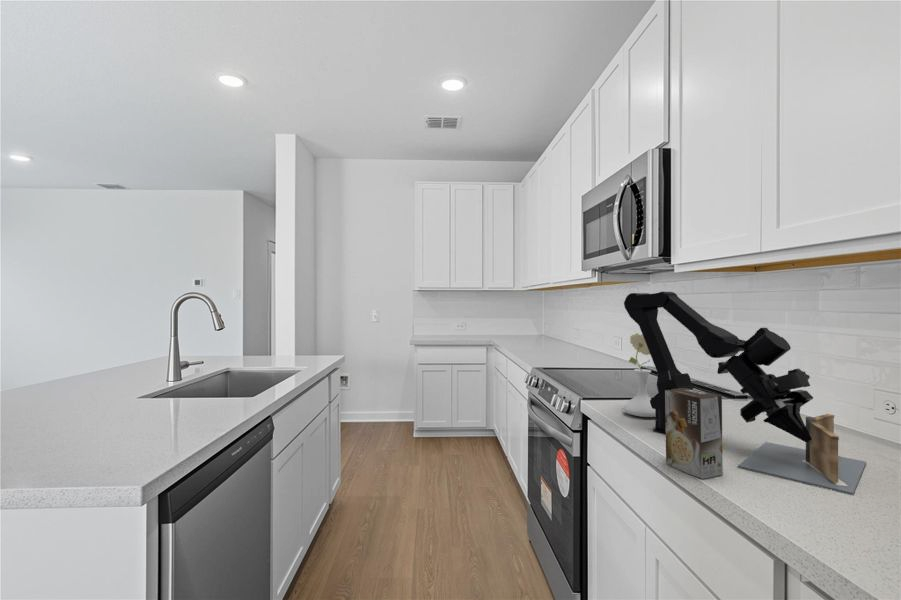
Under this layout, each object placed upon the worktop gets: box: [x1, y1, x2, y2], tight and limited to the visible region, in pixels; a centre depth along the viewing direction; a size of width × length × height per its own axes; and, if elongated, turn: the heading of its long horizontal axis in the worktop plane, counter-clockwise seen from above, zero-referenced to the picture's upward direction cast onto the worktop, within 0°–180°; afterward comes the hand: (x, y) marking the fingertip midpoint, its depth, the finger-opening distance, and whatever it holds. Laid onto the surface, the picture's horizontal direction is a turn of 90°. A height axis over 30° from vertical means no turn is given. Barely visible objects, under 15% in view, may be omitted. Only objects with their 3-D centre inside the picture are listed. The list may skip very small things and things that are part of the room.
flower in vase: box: [622, 332, 655, 418], centre depth 136 cm, size 13×11×25 cm
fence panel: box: [809, 422, 840, 482], centre depth 89 cm, size 11×1×9 cm, turn 158°
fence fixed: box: [805, 413, 835, 463], centre depth 97 cm, size 2×10×10 cm, turn 118°
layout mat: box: [737, 441, 867, 496], centre depth 94 cm, size 18×23×1 cm
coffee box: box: [665, 388, 724, 480], centre depth 92 cm, size 9×6×16 cm
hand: (809, 441), depth 91 cm, fingers closed
